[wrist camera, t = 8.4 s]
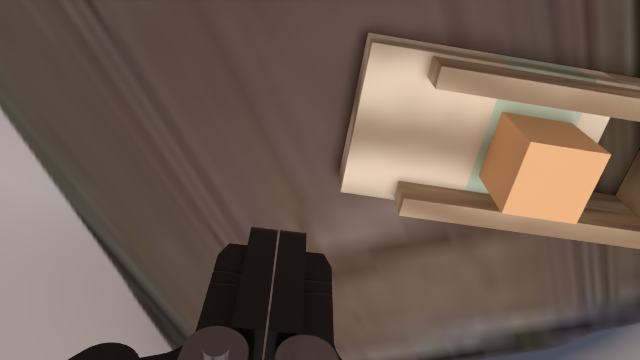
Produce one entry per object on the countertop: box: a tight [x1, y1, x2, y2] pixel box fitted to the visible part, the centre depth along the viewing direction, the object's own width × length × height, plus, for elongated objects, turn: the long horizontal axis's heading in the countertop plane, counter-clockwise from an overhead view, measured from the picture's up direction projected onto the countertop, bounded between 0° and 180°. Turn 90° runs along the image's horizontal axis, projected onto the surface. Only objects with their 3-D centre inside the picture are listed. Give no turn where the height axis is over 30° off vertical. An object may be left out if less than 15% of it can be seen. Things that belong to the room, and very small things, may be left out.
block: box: [479, 112, 611, 224], centre depth 32 cm, size 5×5×5 cm
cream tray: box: [339, 33, 640, 249], centre depth 34 cm, size 11×23×6 cm, turn 81°
